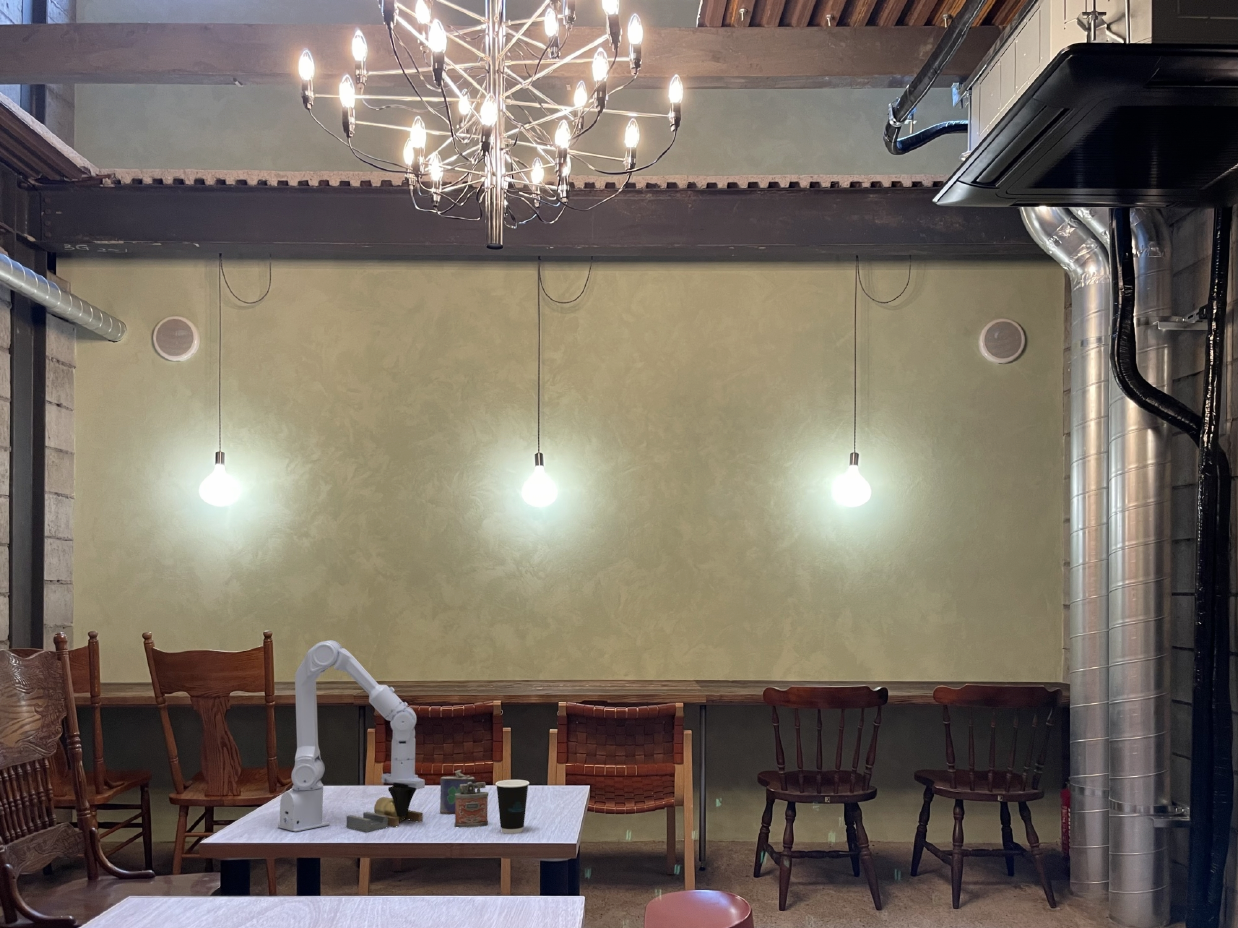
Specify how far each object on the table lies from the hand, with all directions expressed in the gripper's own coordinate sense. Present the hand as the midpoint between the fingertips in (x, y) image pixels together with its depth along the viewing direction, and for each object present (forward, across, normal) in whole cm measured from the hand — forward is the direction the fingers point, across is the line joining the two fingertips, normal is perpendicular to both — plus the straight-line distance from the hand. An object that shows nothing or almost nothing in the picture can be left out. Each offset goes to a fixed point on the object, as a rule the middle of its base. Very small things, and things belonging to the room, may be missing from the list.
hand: (402, 815), depth 244 cm
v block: (+2, +2, +8) cm, 9 cm away
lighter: (+2, -16, -9) cm, 18 cm away
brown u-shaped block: (+2, +1, 0) cm, 2 cm away
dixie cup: (+2, -28, -11) cm, 30 cm away
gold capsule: (+2, +5, 0) cm, 5 cm away
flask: (+2, -3, -16) cm, 16 cm away
